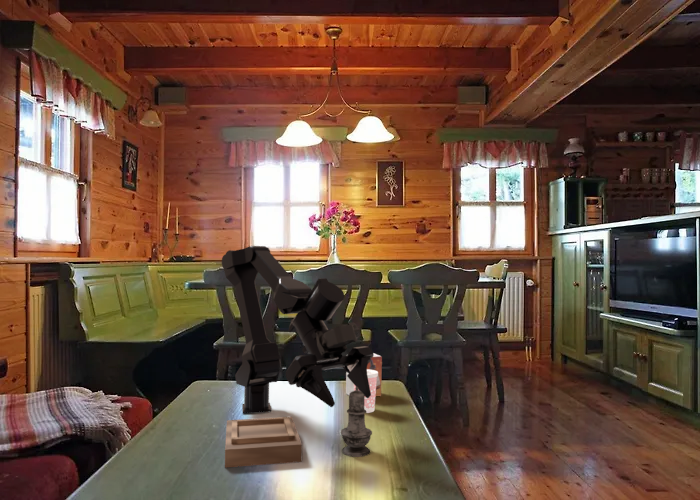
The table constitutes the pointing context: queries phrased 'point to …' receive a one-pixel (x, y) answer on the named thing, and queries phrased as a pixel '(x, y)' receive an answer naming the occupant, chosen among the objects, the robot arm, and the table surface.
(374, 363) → the small box
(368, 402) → the beverage cup
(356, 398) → the antique pepper shaker
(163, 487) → the table surface
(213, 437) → the table surface
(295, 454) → the walnut plinth
